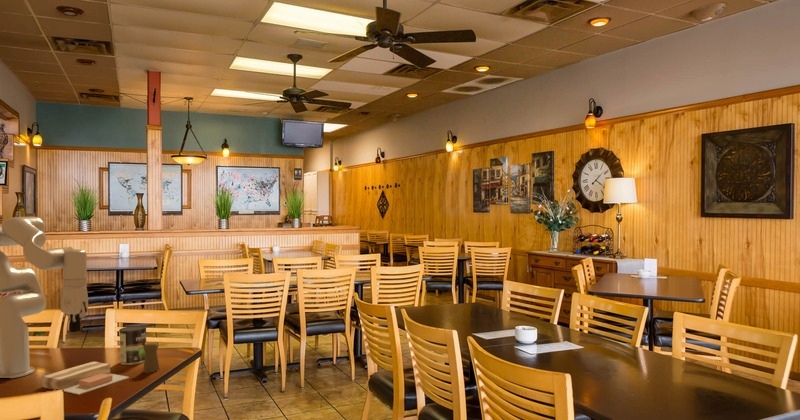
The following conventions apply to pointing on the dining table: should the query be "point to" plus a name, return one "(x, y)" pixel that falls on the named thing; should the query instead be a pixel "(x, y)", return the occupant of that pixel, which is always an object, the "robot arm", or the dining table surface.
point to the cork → (151, 358)
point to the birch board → (74, 375)
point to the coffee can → (132, 345)
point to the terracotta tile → (95, 380)
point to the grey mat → (81, 390)
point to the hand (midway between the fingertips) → (74, 331)
